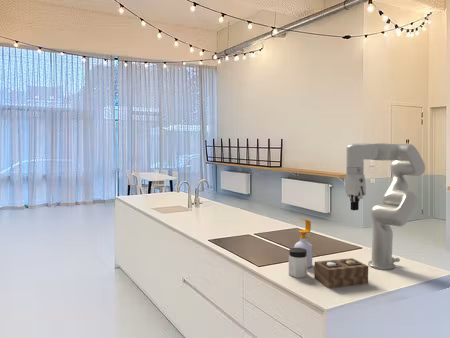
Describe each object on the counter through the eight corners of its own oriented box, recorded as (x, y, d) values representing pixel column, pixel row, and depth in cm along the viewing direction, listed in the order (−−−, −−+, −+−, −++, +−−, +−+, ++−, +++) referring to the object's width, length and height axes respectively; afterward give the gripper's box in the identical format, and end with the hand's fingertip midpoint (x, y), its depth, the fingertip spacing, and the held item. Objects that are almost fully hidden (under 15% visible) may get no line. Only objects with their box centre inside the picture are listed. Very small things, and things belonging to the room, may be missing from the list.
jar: (284, 273, 181) (285, 249, 180) (296, 270, 186) (297, 246, 185) (298, 279, 174) (299, 253, 173) (310, 275, 179) (311, 250, 178)
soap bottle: (290, 263, 197) (291, 217, 195) (305, 261, 200) (306, 215, 198) (300, 268, 188) (300, 220, 187) (315, 266, 192) (316, 219, 190)
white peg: (332, 278, 173) (332, 261, 172) (337, 281, 169) (337, 264, 168) (324, 279, 172) (325, 262, 171) (329, 282, 168) (329, 265, 167)
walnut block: (352, 274, 180) (352, 257, 179) (367, 283, 169) (368, 265, 168) (314, 278, 175) (314, 260, 174) (328, 288, 163) (328, 269, 163)
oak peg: (351, 276, 175) (351, 260, 175) (356, 279, 172) (357, 262, 171) (343, 277, 174) (344, 260, 174) (349, 280, 170) (349, 263, 170)
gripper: (372, 171, 169) (371, 212, 171) (352, 169, 184) (352, 206, 185) (357, 172, 167) (357, 213, 169) (338, 170, 182) (338, 207, 183)
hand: (354, 209), depth 177 cm, fingers closed
